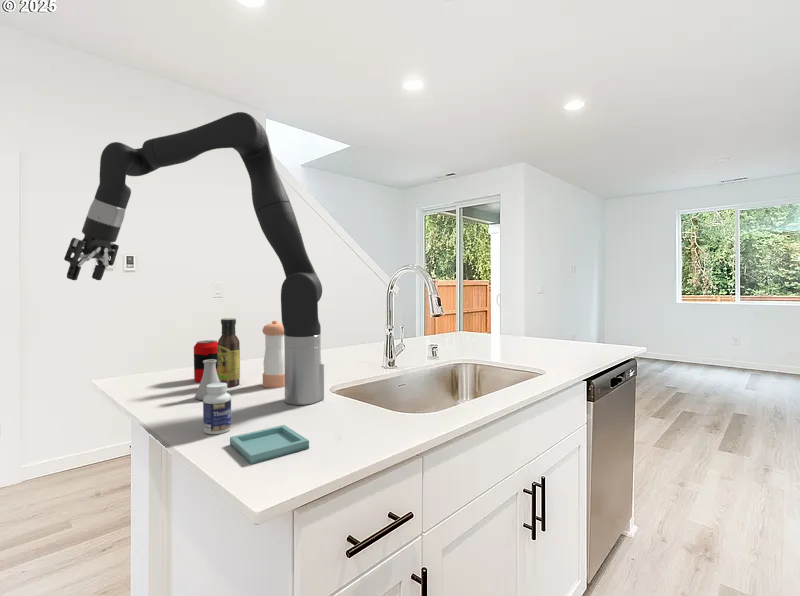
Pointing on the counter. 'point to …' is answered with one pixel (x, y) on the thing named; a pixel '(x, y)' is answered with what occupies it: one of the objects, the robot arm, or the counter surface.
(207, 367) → the flask
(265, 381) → the salt shaker
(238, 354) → the sauce bottle
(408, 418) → the counter surface
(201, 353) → the soda can
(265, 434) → the tray
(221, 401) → the pill bottle
